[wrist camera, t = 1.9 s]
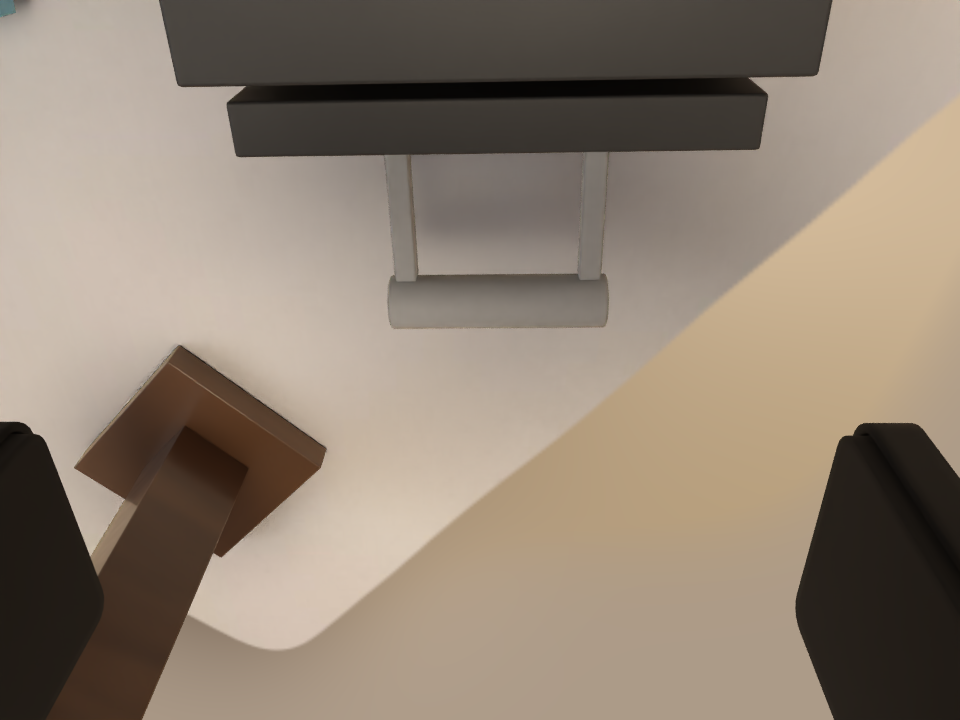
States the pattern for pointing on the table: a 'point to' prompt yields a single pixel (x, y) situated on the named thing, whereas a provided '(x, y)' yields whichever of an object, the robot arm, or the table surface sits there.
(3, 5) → the teapot
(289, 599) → the table surface
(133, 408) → the stand
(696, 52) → the dark grey cabinet
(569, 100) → the drawer
